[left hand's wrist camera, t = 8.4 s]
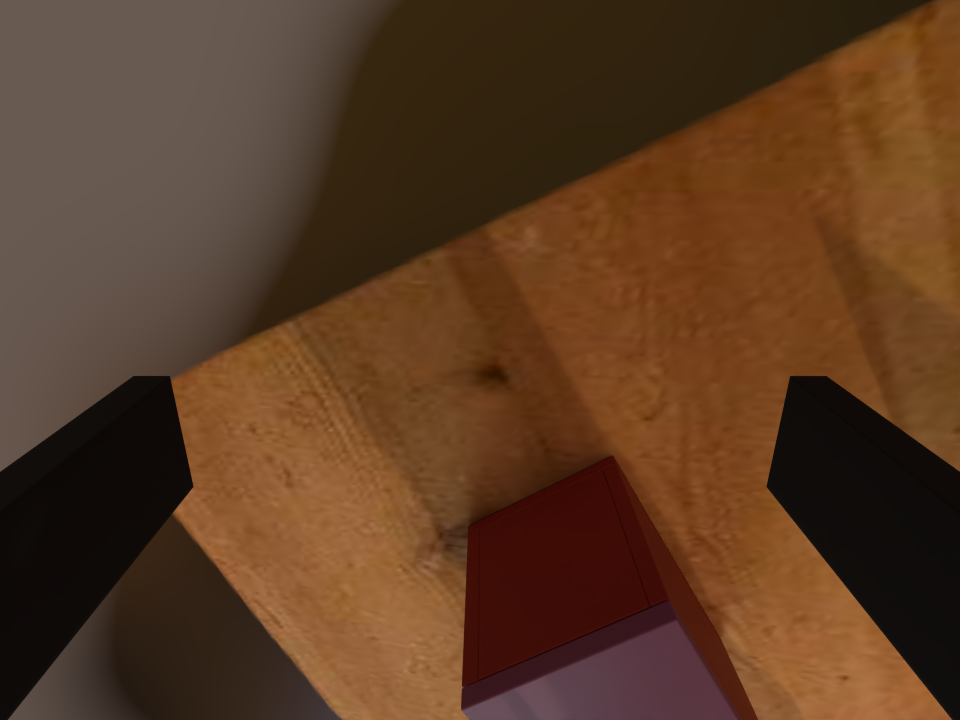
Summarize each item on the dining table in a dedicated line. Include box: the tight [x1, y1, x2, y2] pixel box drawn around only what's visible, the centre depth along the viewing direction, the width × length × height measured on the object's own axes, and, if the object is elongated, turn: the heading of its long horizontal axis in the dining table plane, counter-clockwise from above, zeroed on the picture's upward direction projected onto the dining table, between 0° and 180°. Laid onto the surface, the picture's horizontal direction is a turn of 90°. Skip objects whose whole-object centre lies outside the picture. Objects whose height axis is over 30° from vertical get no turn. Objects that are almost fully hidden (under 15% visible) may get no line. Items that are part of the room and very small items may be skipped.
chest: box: [462, 456, 758, 720], centre depth 31 cm, size 16×9×10 cm, turn 31°
